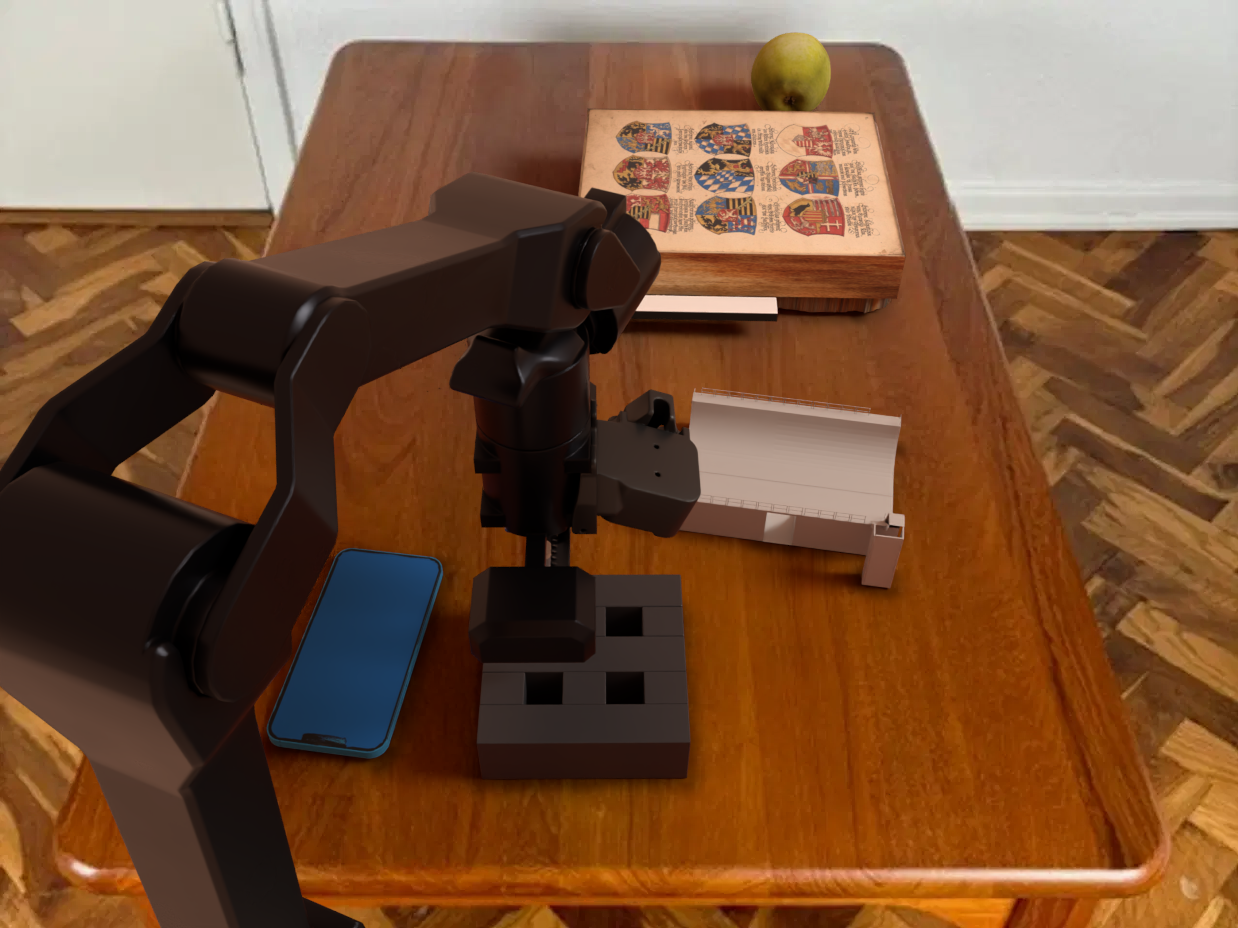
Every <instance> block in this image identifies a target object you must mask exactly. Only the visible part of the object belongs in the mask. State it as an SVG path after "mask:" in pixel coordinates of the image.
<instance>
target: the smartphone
mask: <svg viewBox="0 0 1238 928" xmlns="http://www.w3.org/2000/svg"><path fill="white" fill-rule="evenodd" d="M443 576H444V571H443V565H442V563H441V561H440V560H439V559H437V558H436V557H433V556H426V555H419V554H418V555H417V554H410V553H409V554H408V553H400V552H391V551H384V550H374V549H366V548H358V547H348V548H345V549H342V550H341V551H339V552H338V553H337V554H336V555H335V556H334V559H333V562H332V564H331V566H330V569H329V571H328V574H327V576H326V579H325V581H324V583H323V586H322V588H321V591H320V594H319V596H318V599H317V602H316V603H315V606H314V609H313V611H312V613H311V615H310V618H309V621H308V623H307V625H306V627H305V630H304V633H303V635H302V638H301V641H300V643H299V646H298V647H297V650H296V653H295V655H294V658H293V660H292V662H291V665H290V668H289V670H288V673H287V675H286V677H285V680H284V682H283V684H282V687H281V690H280V692H279V694H278V697H277V699H276V702H275V704H274V707H273V709H272V711H271V714H270V717H269V719H268V721H267V724H266V733H267V735H268V739H269V741H270V742H271V744H272V745H274V746H276V747H279V748H286V749H293V750H300V751H308V752H314V753H315V752H316V753H323V754H330V755H331V754H332V755H339V756H346V757H354V758H360V759H361V758H362V759H368V760H369V759H376V758H378V757H380V756H382V755H383V754H384V753H385V752H386V751H387V750H388V748H389V747H390V744H391V740H392V737H393V734H394V731H395V729H396V725H397V722H398V718H399V716H400V711H401V709H402V706H403V703H404V700H405V697H406V693H407V690H408V687H409V683H410V681H411V678H412V675H413V672H414V668H415V665H416V662H417V658H418V656H419V652H420V650H421V646H422V642H423V640H424V636H425V633H426V631H427V628H428V624H429V621H430V618H431V614H432V612H433V609H434V605H435V602H436V598H437V596H438V593H439V589H440V587H441V584H442V579H443V578H444V577H443Z"/></svg>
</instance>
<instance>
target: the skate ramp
mask: <svg viewBox="0 0 1238 928" xmlns="http://www.w3.org/2000/svg"><path fill="white" fill-rule="evenodd" d="M703 389H705V390H709V388H708V387H707V388H706V387H703ZM711 390H713V391H717V389H715V388H711ZM719 391H721V392H726V390H724V389H722V390H721V389H719ZM731 393H734V391H732V390H728V393H724V395H722V394H721V393H720V392H714V393H713V392H711V391H710V392H709V391H707V393H706V392H705V391H703V390H701V392H696V388H694V390H693V393H692V399H691V407H690V418H689V427H688V428H689V431H690V440H691V441H692V442H693V443H694V444H695V446H696V448H697V450H698V460H699V473H700V486H701V495H700V497H699V499H698V500H697V502H696V504H695V505H694V507H693V508H692V510H691V512H690V513H689V515H688V516H687V518H686V520H685V521H684V523H683V524H682V526H681V528H680V529H679V531H685V532H692V533H699V534H705V535H706V534H707V535H714V536H721V537H728V538H736V539H741V540H742V539H744V540H750V541H759V542H764V543H772V544H779V545H786V546H788V545H789V546H795V547H801V548H802V547H803V548H810V549H815V550H816V549H817V550H824V551H832V552H841V553H845V554H846V553H847V554H854V555H860V556H865V558H864V559H865V560H864V562H863V566H862V567H863V568H862V571H861V585H862V586H870V587H879V588H885V589H886V588H887V589H889V590H890V589H891V587H892V583H893V581H894V576H895V572H896V569H897V565H898V562H899V558H900V554H901V551H902V547H903V545H904V539H905V527H906V525H905V524H906V517H905V516H906V515H905V514H902V513H894V477H895V463H896V454H897V448H898V442H899V437H900V433H901V428H902V415H900V416H892V415H884V414H876V413H870V412H871V407H867V409H868V410H869V411H867V410H863V412H861V410H858V409H860V408H861V409H865V407H864V406H863V407H862V406H855V405H851V407H853V408H855V409H854V410H855V411H853V409H852V408H851V409H850V408H847V410H845V409H844V406H845V407H849V404H848V405H847V404H838V403H835V405H837V406H840V407H838V409H837V408H836V406H835V407H833V406H830V405H833V402H832V403H831V402H829V403H828V402H826V405H822V407H820V405H819V404H824V402H823V401H822V402H821V401H818V403H819V404H818V405H817V404H816V401H813V400H810V402H811V404H810V403H806V405H804V404H803V403H801V401H800V399H797V398H793V400H796V401H798V402H796V403H795V402H793V401H789V403H788V402H787V399H788V400H791V398H789V397H785V398H784V399H783V397H781V396H777V398H778V399H783V400H781V402H780V401H779V400H778V399H773V398H775V396H773V395H769V399H768V398H765V400H763V399H762V398H759V394H756V393H752V395H753V396H756V397H752V396H748V398H747V397H746V396H745V394H746V395H750V393H749V392H748V393H747V392H744V394H742V392H739V391H736V393H739V394H742V395H740V397H739V396H738V395H735V394H732V396H731ZM761 396H762V397H767V395H766V394H765V395H764V394H761ZM802 401H803V402H808V400H807V399H802ZM813 402H814V403H813ZM812 403H813V404H812ZM901 527H902V528H901ZM900 529H901V531H900ZM899 532H900V534H899ZM898 535H899V536H898Z"/></svg>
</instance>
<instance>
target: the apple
mask: <svg viewBox="0 0 1238 928" xmlns="http://www.w3.org/2000/svg"><path fill="white" fill-rule="evenodd" d="M831 69H832V68H831V60H830V57H829V54H828V52H827V50H826V49H825V47H824V45H823V44H822V43H821V42H820V40H818V39H817V38H816V37H815V36H814V35H811V34H810V33H805V32H785V33H781V34H778V35H777V36H775V37H773V38H771V39H770V40H769V41H767V42H766V43H765V44H764V45H763V46H762V47H761V48H760V50H759V51H758V53H757V55H756V57H755V58H754V61H753V63H752V66H751V71H750V83H751V88H752V93H753V97H754V99H755V101H756V103H757V105H758V107H759V108H760V109H761V111H814V110H815V109H816V108H817V107H819V105H820V104H821V103H822V101H823V100H824V98H825V96H826V94H827V92H828V90H829V87H830V83H831V78H832V70H831Z"/></svg>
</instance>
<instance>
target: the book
mask: <svg viewBox="0 0 1238 928" xmlns="http://www.w3.org/2000/svg"><path fill="white" fill-rule="evenodd" d="M876 118H877V117H876V113H875V112H874V111H870V112H869V111H814V110H812V111H763V110H741V109H740V110H739V109H738V110H736V109H734V110H731V109H671V108H669V109H665V108H663V109H662V108H660V109H657V108H596V107H593V108H591V107H589V108H588V107H587V109H586V118H585V119H586V120H585V127H584V128H585V129H584V139H583V147H582V157H581V166H580V176H579V177H580V179H579V187H578V195H577V196H578V197H582V198H584V197H585V195H586V194H587V193H588V191H589V190H590V189H591V188H592V187H593V188H597V189H601V190H605V191H609V192H614V193H618V194H622V195H625V196H626V197H627V214H629V215H631V216H632V217H633V218H635V219H636V220H637V221H638V222H640V223H641V224H642V225H643V226H644V228H645V229H646V230H647V231H648V232H649V233H650V235H651V237H652V238H653V240H654V242H655V244H656V247H657V250H658V251H659V252H660V254H661V266H660V271H659V274H658V276H657V277H656V279H655V281H654V283H653V284H652V286H651V287H650V289H649V290H648V292H647V294H646V295H645V297H644V298H643V300H642V302H641V303H640V305H639V306H638V308H637V309H636V311H635V313H634V314H633V316H632V317H631V319H630V320H670V321H672V320H673V321H674V320H675V321H676V320H677V321H678V320H679V321H723V322H726V321H727V322H729V321H730V322H775V323H776V322H778V315H779V313H778V312H779V311H778V309H784V310H794V311H800V312H807V313H847V312H854V311H857V312H861V313H863V314H866V313H871V312H875V311H876V310H879V309H884V308H887V306H888V305H889V304H890V303H892V301H893V300H897V299H898V297H899V292H900V287H901V282H902V277H903V273H904V267H905V263H906V258H907V256H906V255H907V254H906V251H905V246H904V242H903V236H902V233H901V228H900V224H899V219H898V213H897V210H896V205H895V200H894V196H893V191H892V187H891V182H890V178H889V177H890V176H889V173H888V169H887V168H888V167H887V164H886V158H885V155H884V150H883V145H882V140H881V136H880V131H879V127H878V123H877V119H876Z"/></svg>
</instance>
